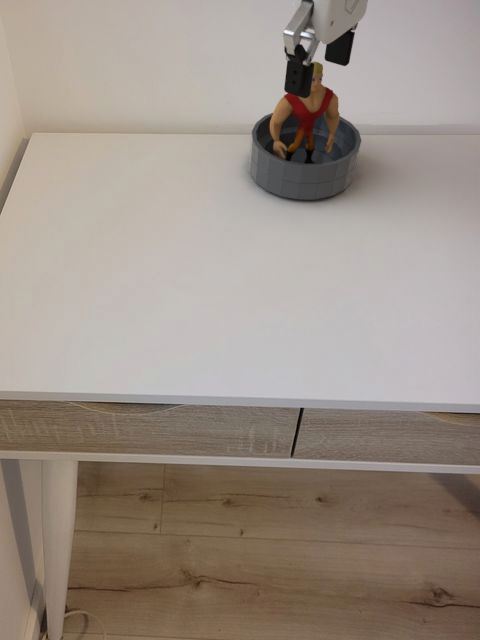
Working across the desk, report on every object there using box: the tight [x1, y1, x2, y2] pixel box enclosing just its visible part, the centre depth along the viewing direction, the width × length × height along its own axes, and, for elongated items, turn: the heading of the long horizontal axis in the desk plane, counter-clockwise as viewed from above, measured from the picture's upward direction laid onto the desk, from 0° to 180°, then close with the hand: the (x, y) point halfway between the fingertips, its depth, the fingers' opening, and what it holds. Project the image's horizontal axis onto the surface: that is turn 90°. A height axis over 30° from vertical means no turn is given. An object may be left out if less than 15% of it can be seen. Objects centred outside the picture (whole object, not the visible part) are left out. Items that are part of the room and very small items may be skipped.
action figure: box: [270, 60, 341, 164], centre depth 78 cm, size 10×4×15 cm, turn 101°
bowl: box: [248, 112, 362, 200], centre depth 83 cm, size 14×14×6 cm
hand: (317, 78), depth 75 cm, fingers open, 9 cm apart
